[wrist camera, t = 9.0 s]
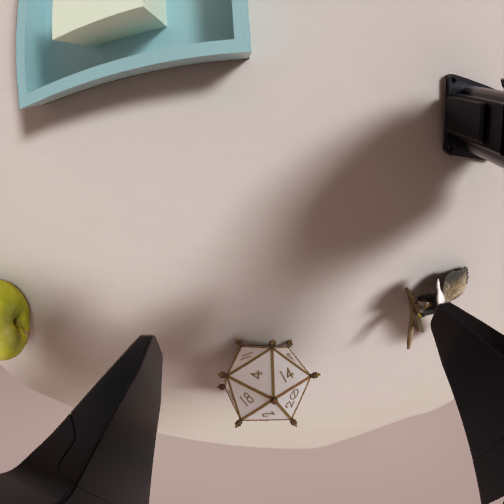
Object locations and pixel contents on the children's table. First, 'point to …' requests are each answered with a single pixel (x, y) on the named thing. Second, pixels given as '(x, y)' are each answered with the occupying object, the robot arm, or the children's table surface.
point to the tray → (124, 48)
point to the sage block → (105, 20)
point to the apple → (12, 321)
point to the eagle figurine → (434, 299)
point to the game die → (265, 382)
